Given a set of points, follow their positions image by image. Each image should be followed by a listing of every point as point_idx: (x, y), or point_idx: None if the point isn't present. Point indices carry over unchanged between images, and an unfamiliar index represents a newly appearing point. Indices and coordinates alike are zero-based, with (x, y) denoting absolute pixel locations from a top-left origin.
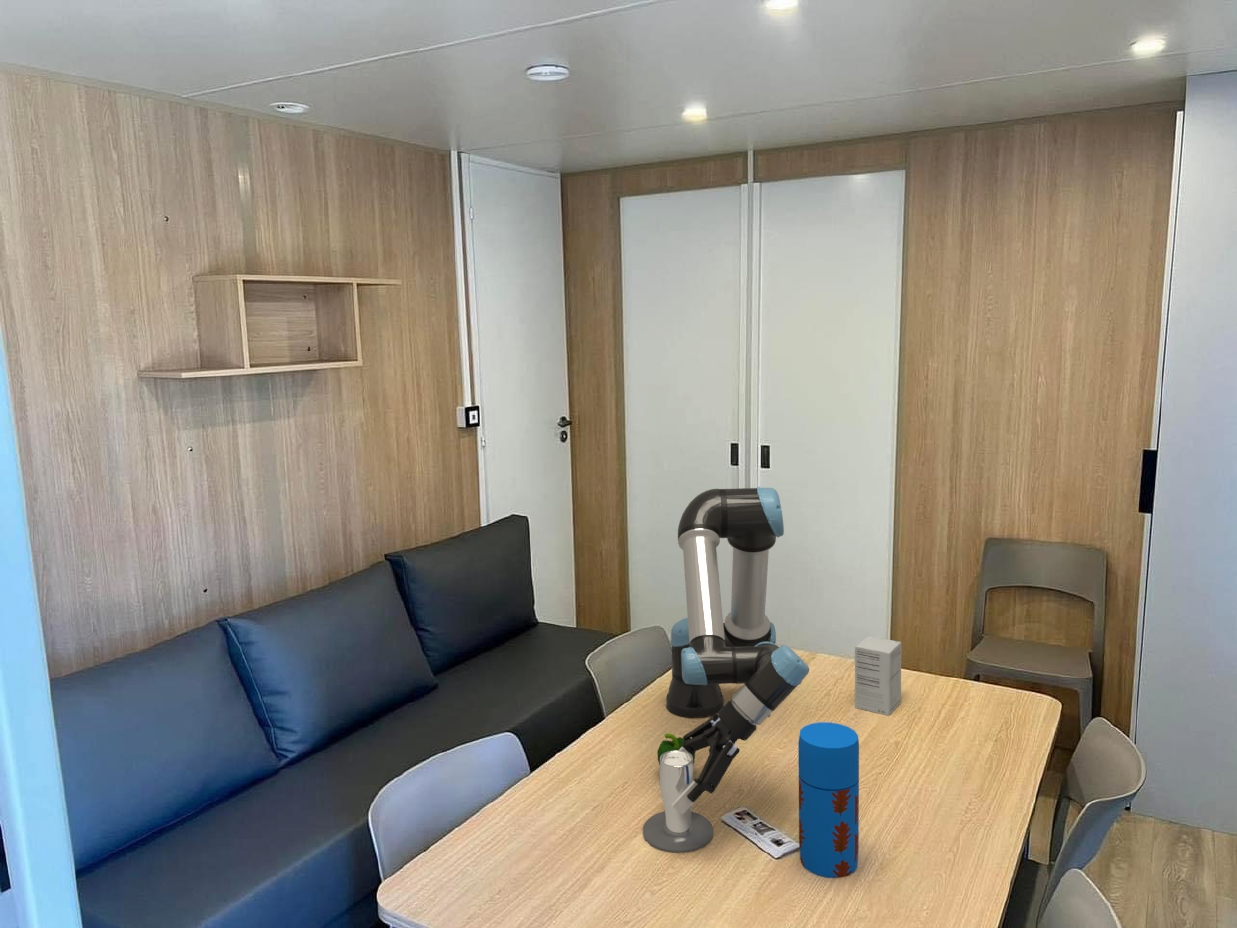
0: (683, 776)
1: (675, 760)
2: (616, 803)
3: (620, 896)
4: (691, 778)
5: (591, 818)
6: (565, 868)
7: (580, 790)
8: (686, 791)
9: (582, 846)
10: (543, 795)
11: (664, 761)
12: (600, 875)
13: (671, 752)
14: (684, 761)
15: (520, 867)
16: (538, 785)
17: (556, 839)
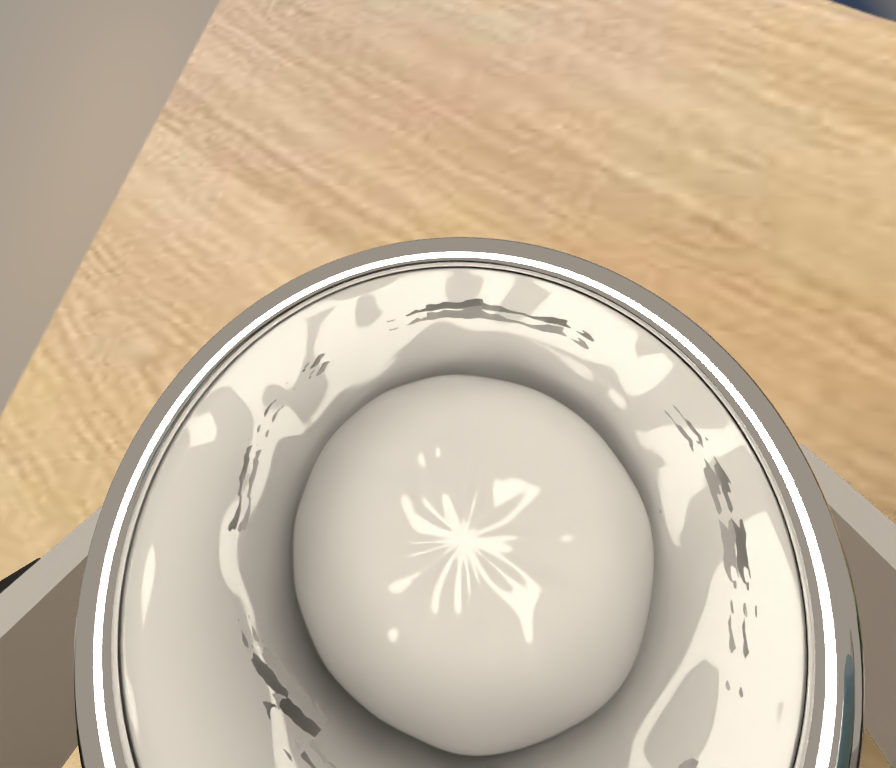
0: (214, 592)
1: (712, 582)
2: (745, 304)
3: (171, 269)
4: (291, 714)
5: (631, 212)
6: (354, 139)
7: (853, 182)
8: (39, 560)
9: (456, 181)
10: (805, 74)
11: (642, 392)
12: (289, 223)
13: (781, 510)
14: (671, 743)
15: (391, 43)
16: (882, 57)
17: (512, 115)
